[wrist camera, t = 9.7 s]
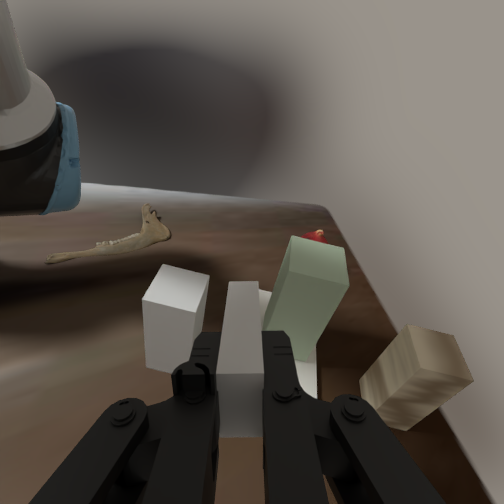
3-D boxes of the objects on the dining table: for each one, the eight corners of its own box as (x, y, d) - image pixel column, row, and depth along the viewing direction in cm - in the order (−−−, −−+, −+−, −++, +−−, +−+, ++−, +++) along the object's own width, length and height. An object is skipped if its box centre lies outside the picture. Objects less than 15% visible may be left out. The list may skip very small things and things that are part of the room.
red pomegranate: (295, 277, 51) (309, 241, 46) (285, 254, 56) (297, 219, 51) (325, 276, 53) (342, 241, 48) (313, 255, 57) (328, 220, 52)
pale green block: (305, 361, 38) (349, 285, 29) (259, 350, 38) (289, 270, 29) (306, 323, 42) (343, 248, 34) (264, 313, 42) (291, 235, 34)
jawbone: (183, 232, 56) (184, 224, 55) (86, 298, 42) (84, 289, 41) (147, 209, 59) (147, 201, 57) (43, 264, 44) (40, 254, 43)
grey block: (146, 367, 35) (141, 299, 27) (162, 331, 39) (162, 263, 31) (188, 377, 35) (195, 312, 27) (200, 341, 39) (209, 275, 31)
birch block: (364, 420, 35) (420, 367, 27) (359, 380, 39) (406, 323, 31) (406, 431, 35) (473, 381, 27) (396, 389, 39) (453, 335, 31)
